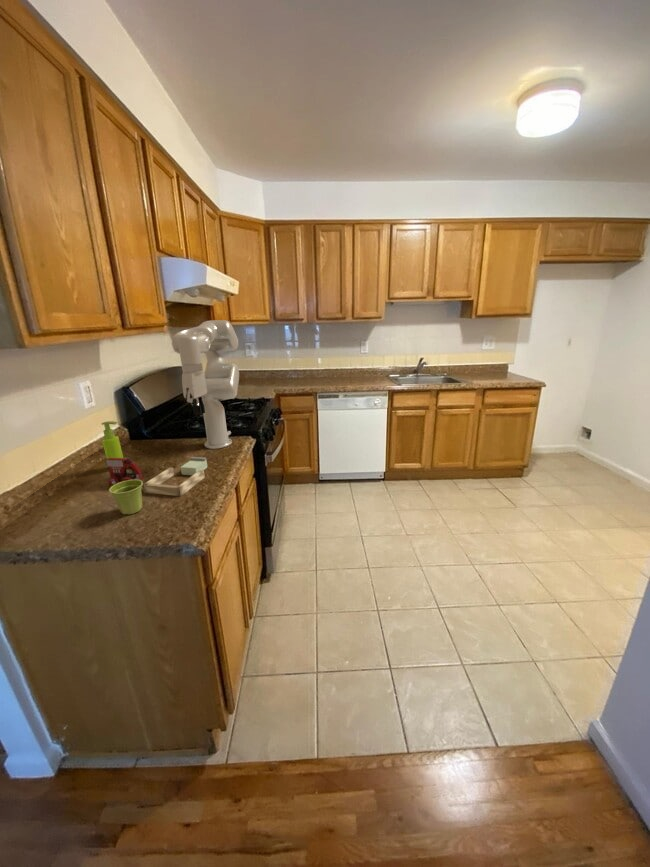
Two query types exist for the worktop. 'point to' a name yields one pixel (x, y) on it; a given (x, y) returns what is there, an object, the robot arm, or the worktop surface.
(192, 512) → the worktop surface
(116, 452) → the soap dispenser
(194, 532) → the worktop surface
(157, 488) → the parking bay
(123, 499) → the plant pot
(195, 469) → the pale green block
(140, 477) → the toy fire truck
